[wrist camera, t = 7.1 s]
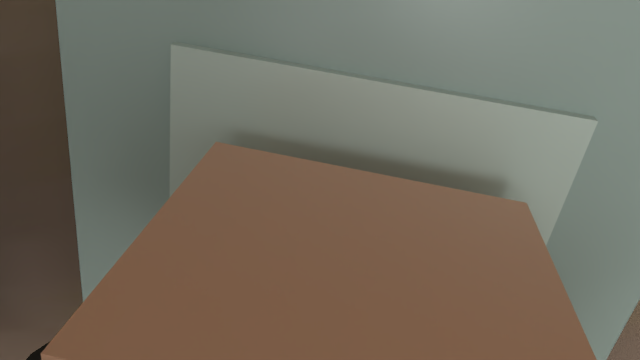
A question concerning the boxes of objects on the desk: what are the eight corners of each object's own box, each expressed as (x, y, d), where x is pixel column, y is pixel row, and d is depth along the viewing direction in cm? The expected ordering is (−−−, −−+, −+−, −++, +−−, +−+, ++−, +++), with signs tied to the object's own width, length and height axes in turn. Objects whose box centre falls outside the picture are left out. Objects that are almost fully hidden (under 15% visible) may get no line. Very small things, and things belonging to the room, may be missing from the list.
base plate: (74, -117, 12) (35, -120, 11) (765, -4, 12) (812, 6, 10) (107, 361, 20) (86, 393, 19) (529, 453, 19) (538, 493, 18)
